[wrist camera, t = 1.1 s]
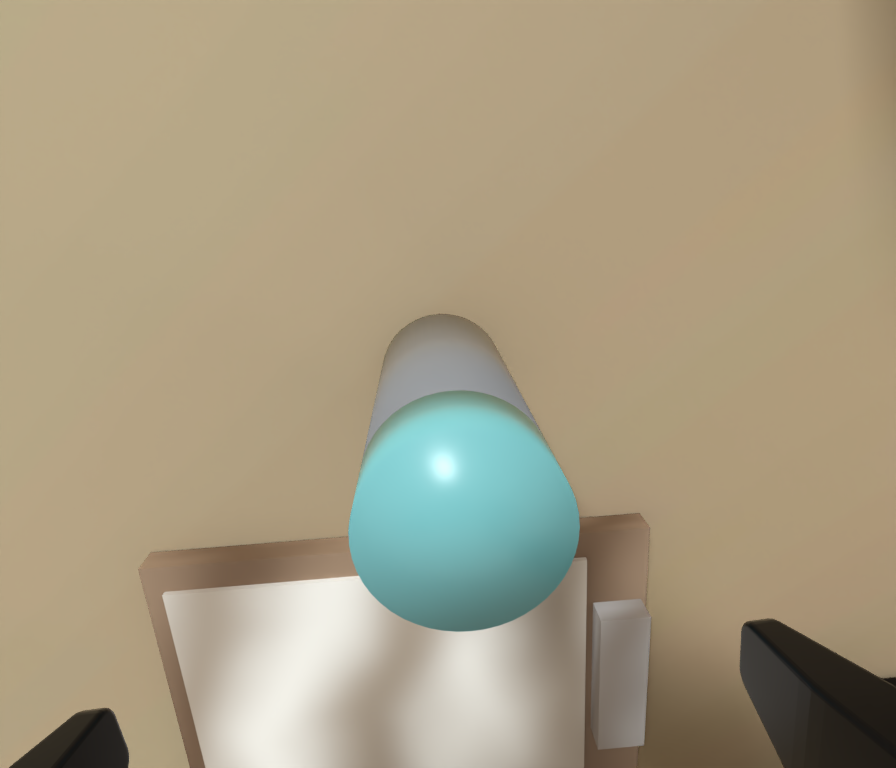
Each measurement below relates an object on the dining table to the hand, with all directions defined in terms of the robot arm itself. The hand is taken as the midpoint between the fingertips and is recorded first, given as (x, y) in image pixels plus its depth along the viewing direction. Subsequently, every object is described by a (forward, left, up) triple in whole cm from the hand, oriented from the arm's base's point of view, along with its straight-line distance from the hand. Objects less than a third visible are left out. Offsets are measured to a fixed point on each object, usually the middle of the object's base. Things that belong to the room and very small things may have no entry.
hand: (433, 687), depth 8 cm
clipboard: (+1, +11, -12) cm, 16 cm away
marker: (-1, -1, -12) cm, 12 cm away
